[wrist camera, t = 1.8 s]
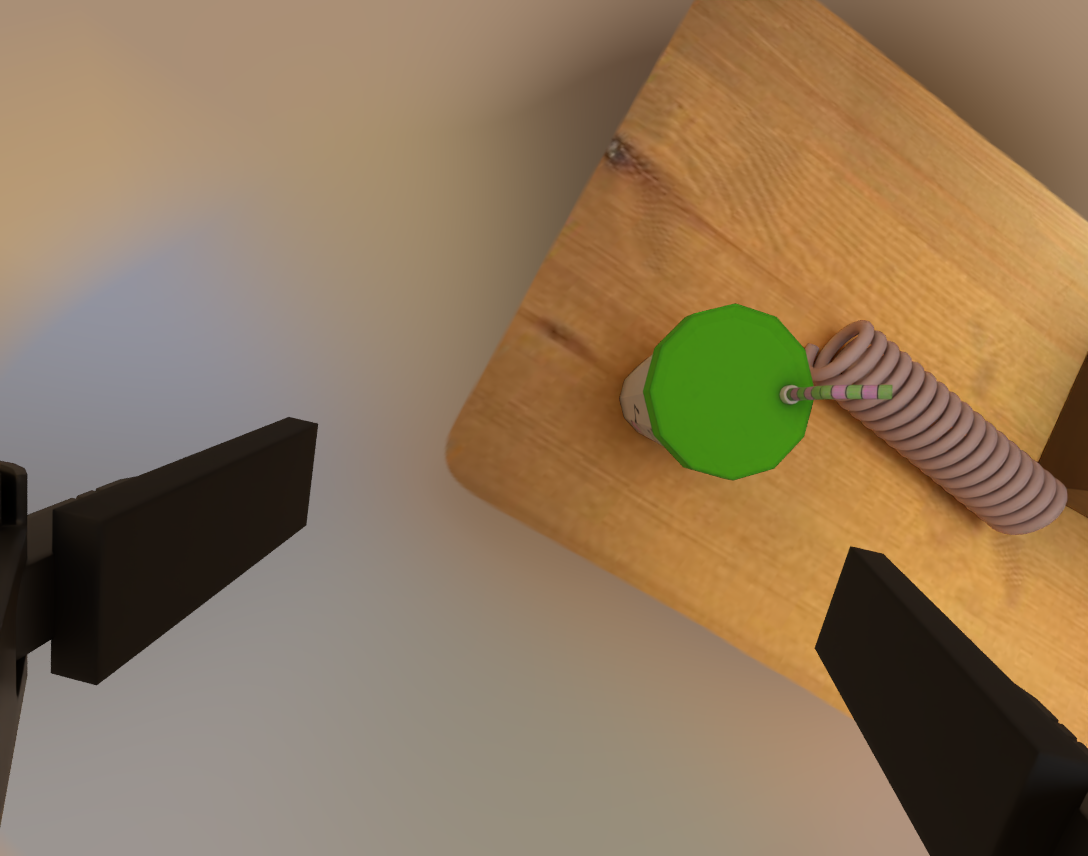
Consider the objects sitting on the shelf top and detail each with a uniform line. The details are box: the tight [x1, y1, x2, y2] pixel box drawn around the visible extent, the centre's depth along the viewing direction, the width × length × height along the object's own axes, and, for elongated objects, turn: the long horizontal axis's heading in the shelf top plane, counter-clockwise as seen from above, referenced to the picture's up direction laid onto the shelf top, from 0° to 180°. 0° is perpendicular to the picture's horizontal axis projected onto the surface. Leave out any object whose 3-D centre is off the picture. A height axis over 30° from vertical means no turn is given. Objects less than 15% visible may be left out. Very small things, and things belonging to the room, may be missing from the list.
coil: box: [805, 320, 1067, 535], centre depth 38 cm, size 5×5×18 cm
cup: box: [619, 303, 893, 480], centre depth 30 cm, size 8×8×15 cm
